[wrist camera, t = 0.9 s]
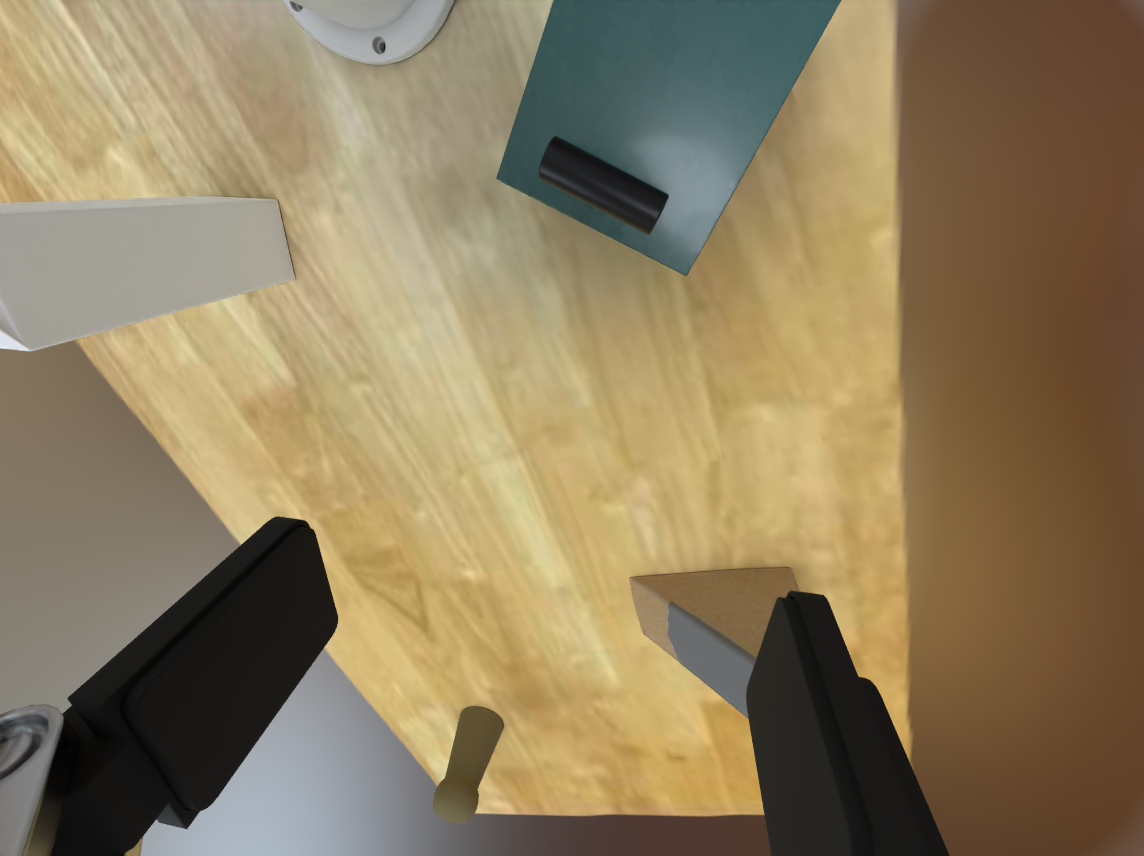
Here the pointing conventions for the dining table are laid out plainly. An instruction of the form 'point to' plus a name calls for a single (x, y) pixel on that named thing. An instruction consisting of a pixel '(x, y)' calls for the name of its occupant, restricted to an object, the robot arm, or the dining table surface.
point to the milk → (129, 261)
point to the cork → (467, 764)
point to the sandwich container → (712, 621)
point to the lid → (655, 111)
